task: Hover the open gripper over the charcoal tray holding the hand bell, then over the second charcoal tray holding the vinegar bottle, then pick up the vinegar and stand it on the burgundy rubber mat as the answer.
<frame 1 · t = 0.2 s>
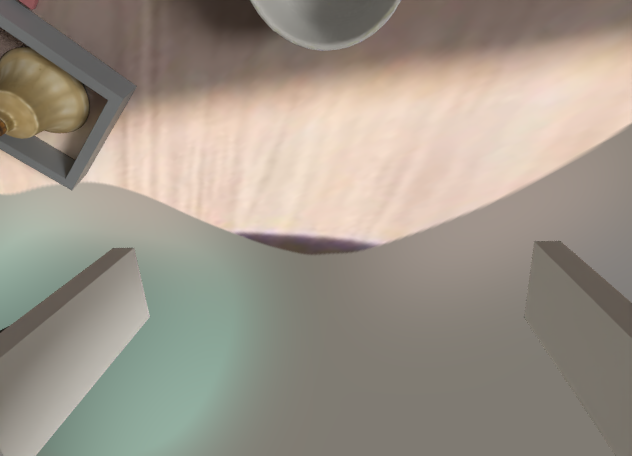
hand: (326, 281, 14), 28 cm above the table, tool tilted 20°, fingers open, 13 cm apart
bell tray: (44, 92, 41), on the table
hand bell: (46, 91, 41), resting in bell tray
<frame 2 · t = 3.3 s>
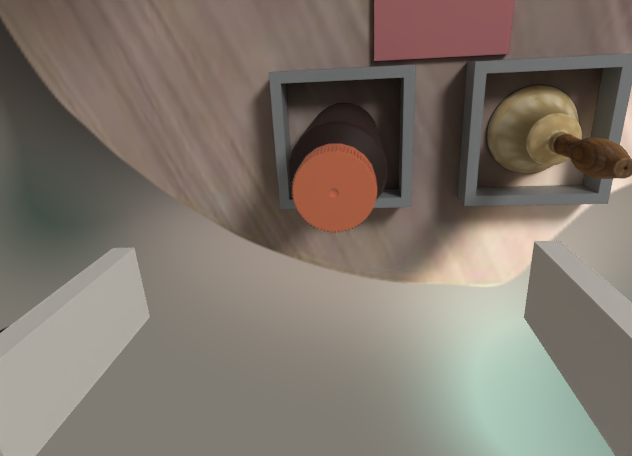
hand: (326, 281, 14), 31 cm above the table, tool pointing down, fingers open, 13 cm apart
vinegar: (344, 137, 43), resting in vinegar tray
bell tray: (531, 130, 41), on the table
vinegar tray: (343, 137, 43), on the table
hand bell: (530, 130, 41), resting in bell tray
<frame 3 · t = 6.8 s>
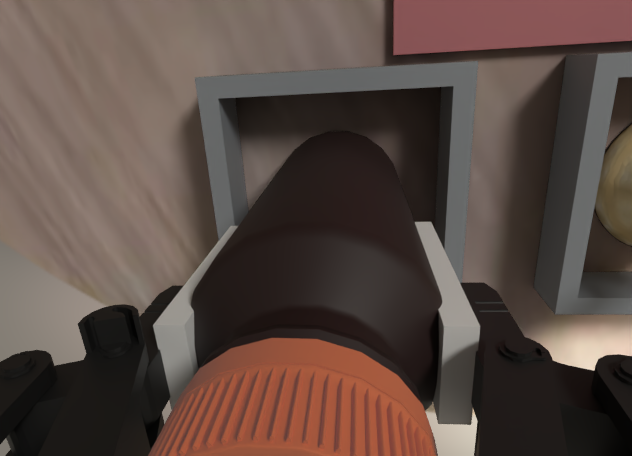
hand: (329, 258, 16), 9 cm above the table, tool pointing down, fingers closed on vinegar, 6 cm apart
vinegar: (339, 188, 25), resting in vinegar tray, touching gripper
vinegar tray: (339, 188, 25), on the table
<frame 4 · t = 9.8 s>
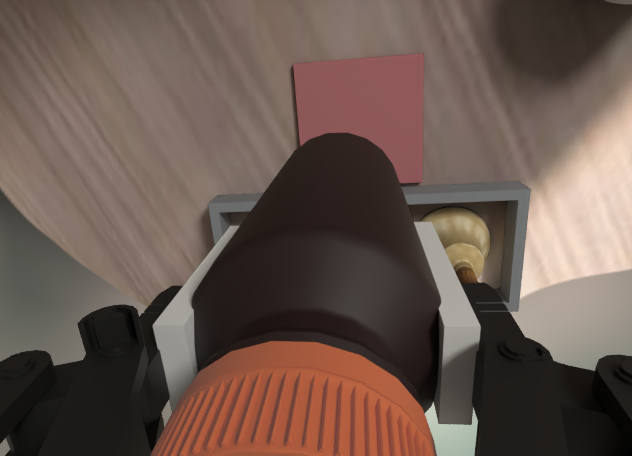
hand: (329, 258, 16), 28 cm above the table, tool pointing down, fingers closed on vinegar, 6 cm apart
vinegar: (339, 189, 25), point 19 cm above the table, touching gripper
bell tray: (449, 244, 45), on the table
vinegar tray: (282, 249, 47), on the table
hand bell: (449, 243, 45), resting in bell tray
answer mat: (359, 124, 42), on the table
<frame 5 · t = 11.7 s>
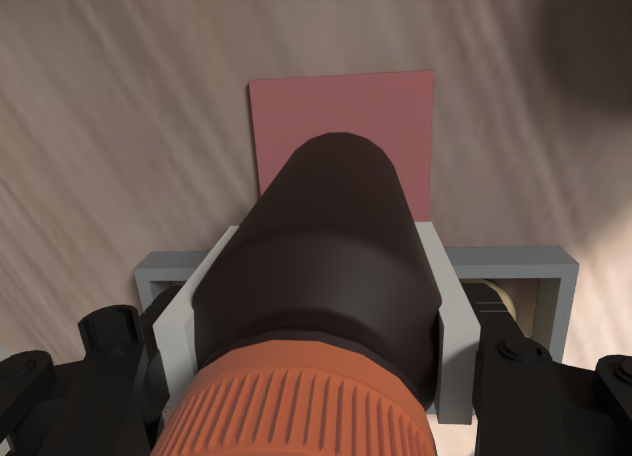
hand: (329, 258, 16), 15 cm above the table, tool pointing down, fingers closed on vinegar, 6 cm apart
vinegar: (339, 188, 25), point 6 cm above the table, touching gripper
bell tray: (461, 322, 34), on the table
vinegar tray: (240, 321, 36), on the table
hand bell: (460, 320, 34), resting in bell tray
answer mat: (342, 165, 30), on the table
when the fingers open (10 cm above the table, at t = 13.0 s): vinegar stays where it is, resting on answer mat.
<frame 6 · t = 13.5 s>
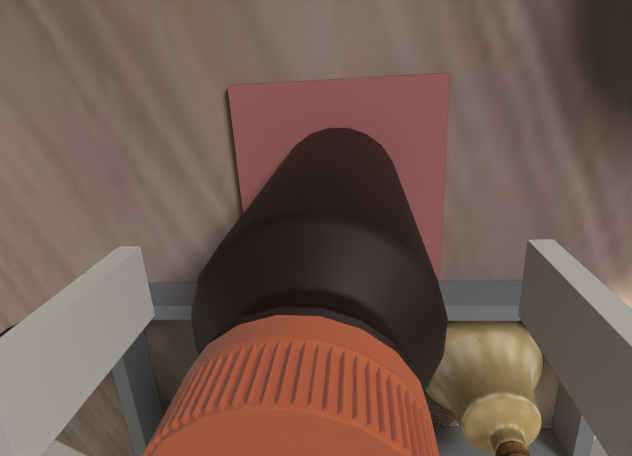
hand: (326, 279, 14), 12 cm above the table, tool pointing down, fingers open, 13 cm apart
vinegar: (338, 183, 25), resting on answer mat
bell tray: (478, 365, 29), on the table
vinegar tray: (222, 361, 31), on the table
hand bell: (477, 362, 29), resting in bell tray
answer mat: (340, 185, 26), on the table
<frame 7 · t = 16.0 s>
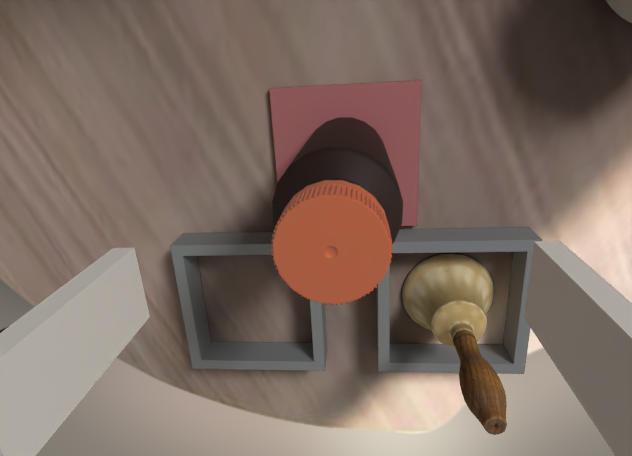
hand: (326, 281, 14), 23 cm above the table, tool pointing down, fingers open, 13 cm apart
vinegar: (345, 157, 36), resting on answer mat
bell tray: (447, 293, 40), on the table
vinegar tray: (257, 294, 42), on the table
hand bell: (446, 292, 40), resting in bell tray
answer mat: (346, 158, 36), on the table
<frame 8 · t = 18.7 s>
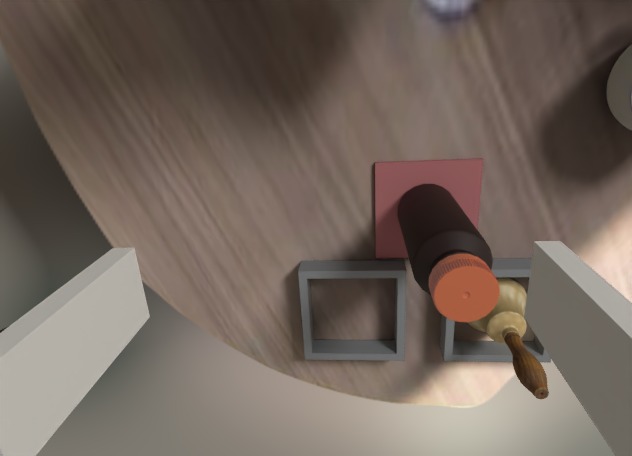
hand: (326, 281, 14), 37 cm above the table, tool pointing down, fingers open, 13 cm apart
vinegar: (425, 209, 51), resting on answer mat
bell tray: (494, 304, 55), on the table
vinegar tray: (353, 304, 56), on the table
hand bell: (493, 303, 55), resting in bell tray
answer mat: (425, 210, 51), on the table
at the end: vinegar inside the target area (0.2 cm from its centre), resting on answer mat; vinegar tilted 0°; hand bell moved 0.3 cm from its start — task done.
